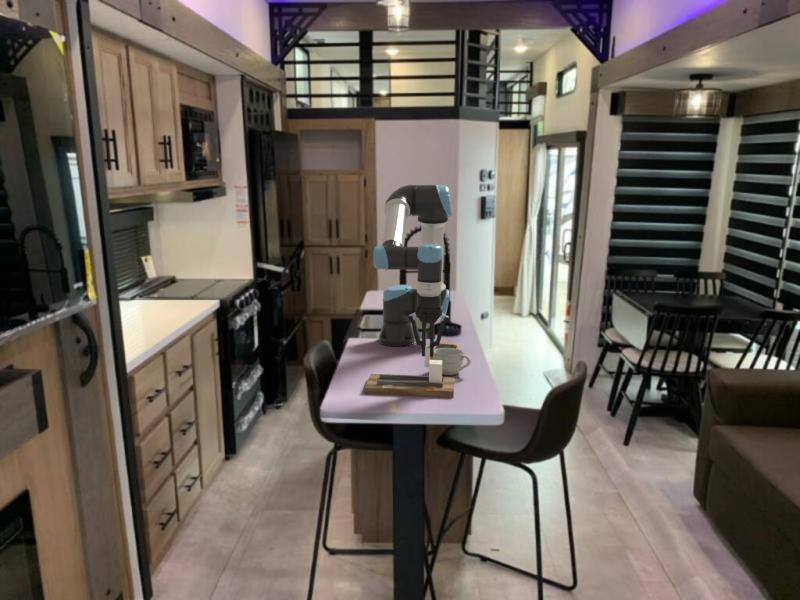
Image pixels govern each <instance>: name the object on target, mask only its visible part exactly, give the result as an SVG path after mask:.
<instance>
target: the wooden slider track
mask: <svg viewBox="0 0 800 600" xmlns="http://www.w3.org/2000/svg"><path fill="white" fill-rule="evenodd" d="M454 388H455V376H452V377H451V376H442V383H431V382H429V375H414V374H413V375H412V374H391V373H389V374H388V373H370V375H369V376H368V379H367V382H366V383H365V386H364V394H368V395H369V394H370V395H388V396H389V395H391V396H409V397H410V396H411V397H412V396H413V397H430V398H431V397H432V398H434V397H435V398H454V397H455V396H454V395H455V393H454V392H455V389H454Z"/></svg>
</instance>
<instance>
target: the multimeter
mask: <svg viewBox="0 0 800 600" xmlns="http://www.w3.org/2000/svg"><path fill="white" fill-rule="evenodd" d="M438 348H454V349H459V345H458V344H457V343H450V342H440V344H439V346H435V347H434V350H435V349H438ZM430 360H433V357H430Z"/></svg>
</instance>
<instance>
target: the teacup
mask: <svg viewBox="0 0 800 600" xmlns="http://www.w3.org/2000/svg"><path fill="white" fill-rule="evenodd" d="M464 359H466V361H467V362H466V364H464ZM433 360H442V376H443V375H444V376H454V375H457V374H458V373H460V372H462V371H463V370H464V369H465V368H468V367H469V366H470V365H471V362H472V359H471V357H470V356H469V355H467V354H465V351H464V350H461V349H460V348H458V349H454V348H438V349H435V350H434V355H433ZM463 364H464V365H463Z"/></svg>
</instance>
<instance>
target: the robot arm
mask: <svg viewBox="0 0 800 600" xmlns="http://www.w3.org/2000/svg"><path fill="white" fill-rule="evenodd" d="M451 203H452V201H451V194H450V188H449V187H448V186H447V185H442V184H441V185H440V184H407V185H403V186H400V187H399V188H397V189H395V191H393V192H392V193H391V194H390V195H389V196H388V198H387V199H386V201H385V203H384V207H383V211H384V214H385V221H384V226H383V233H382V242H381V245H379V246H374V248H373V267H374V268H375V269H378V270H386V271H388V270H405V271H406V270H408V271H417V280H416V281H417V283H416V288H413V286H412V285H410V284H398V285H392V286H388V287H387V288H385V289H384V290H383V295H382V302H383V303H382V326H381V329H380V332H379V334H378V342H380V343H379V344H381V343H382V344H381V345H383V344H385V345H384V346H387V345H390V346H389V347H403V346H402V345H408V346H410V345H409V344H411V345H413V344H412V343H414V342H415V343H414V344H416V346H420V347H421V357H424V368H429V363H430V357H433V355H434V348H435V347H436V346H439V344H440V343H441V340H442V336H443V332H444V329H445V325H446V324H447V322H448V321H449V318H450V317H449V315H447V312H448V307H449V300H450V299H449V298H450V290H449V289H447V286H446V284H445V283H444V282H443V272H444V271H443V265H444V264H443V263H444V236H445V235H444V234H445V232H444V230H445V229H444V228H445V225H446V224H447V223H448V221H449V218H450V217H452V215H453V214H452V213H453V212H452V204H451ZM409 216H410V217H417V222H418V223H419V224H420V225H421V226H420V227H421V228H420V229H421V233H420V234H421V237H420V239H421V244H420V245H418V246H405V238H406V230H407V219H408V218H409ZM417 318H418V320H419V321H420V322H421V338H420V333H419V329H418V325H417V320H416V319H417ZM439 319H440V326H439V329H438V333H437V336H436V340H435V324H436V322H437V321H438V320H439ZM427 324H429V329H430V330H429V344H427Z"/></svg>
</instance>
